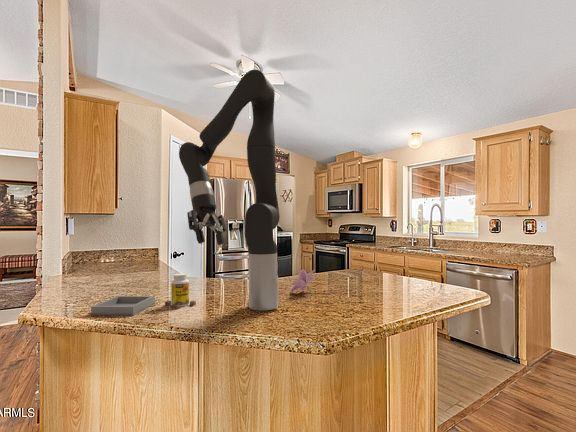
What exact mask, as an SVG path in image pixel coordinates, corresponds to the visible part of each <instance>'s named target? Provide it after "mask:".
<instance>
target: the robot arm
mask: <svg viewBox="0 0 576 432" xmlns="http://www.w3.org/2000/svg"><path fill="white" fill-rule="evenodd" d="M275 95H276V92H275V85H273V83H272V81H271V80H270V79H269V78H268V77H267V76H266V75H265V73H264V72H263V71H261V70H260V69H255V68H254V69H251V70H248V71H247V72H246V73H244V75H243V76H242V77H241V78H240V80H239V81H238V83H237V85H236V86H235V87H234V89H233V91H232V92H231V94H230V95H229V96H228V98H227V100H226V101H225V103H224V104H223V105H222V107H221V109H220V110H219V111H218V113H216V115H215V116H214V117H213V118H212V119H211V120H210V122H209V123H208V124H207V125H206V126H205V127H204V128H203V129H202V131H201V132H200V134H199V139H200V141H201V142H202V144H201V146H199V145H197V144H195V143H194V142H190V141H189V142H188V141H187V142H183V143H182V144H181V146H180V147H179V149H178V158H179V160H180V164H181V166H182V168H183V170H184V172H185V175H186V177H187V181H188V185H189V196H190V201H191V206H192V207H191V208H192V210H190V211H188V212H187V213H186V214H187V222H188V229H189V230H190V231H194V232H195V237H196V241H197V242H198V244H199V245H200V244H203V243H205V235H204V230H203V228H204V227H205V228H206V227H207V228H209V229H210V230H211V231H212V232H214V233H215V239H216V244H217V246H221V245H224V243H225V239H224V234H223V233H226V232H227V226H226V223H225V220H224V216H223V214H219V215H217V214H216V210H217V204H216V200H215V194H214V190H213V187H212V185H211V184H212V183H211V179H210V174H209V172H208V170H207V169H206V168H205V166H206V165H207V164H208V163H209V162H210V161H211V159H212V157H213V155H214V154H215V151H216V149H217V147H218V146H219V145H220V144H222V142H223V141H224V140H225V139H226V138H227V137H228V136H229V134H230V133H231V131H232V130H233V128H234V125H235V124H236V123H235V122H236V120H237V118H238V117H239V115H240V113H241V112H242V110H243V109H244V108H245V107H246V106H247V105H248V104H249V103H251V108H252V124H251V129H250V131H249V134H248V138H247V140H246V141H247V142H246V157H247V158H246V160H247V167H248V170H249V173H250V176H251V180H252V182H253V185H254V190H255V203H252V204H251V205H250V206H249V207H248V208H247V209H246V212H245V216H244V228H245V231H244V232H245V244H246V246H247V250H248V308H249V309H250V310H251V311H260V312H261V311H263V312H264V311H271V310H277V309H278V306H279V301H280V300H279V275H278V245H277V243H276V241H275V240H274V230H275V229H276V228H277V227H278V225H279V222H280V218H281V217H280V216H281V215H280V209H279V203H278V202H279V201H278V194H277V171H276V170H277V169H276V163H277V162H276V159H277V155H276V143H275V142H276V141H275V125H274V115H275V114H274V112H275V110H274V109H275V98H276V97H275Z"/></svg>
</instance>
